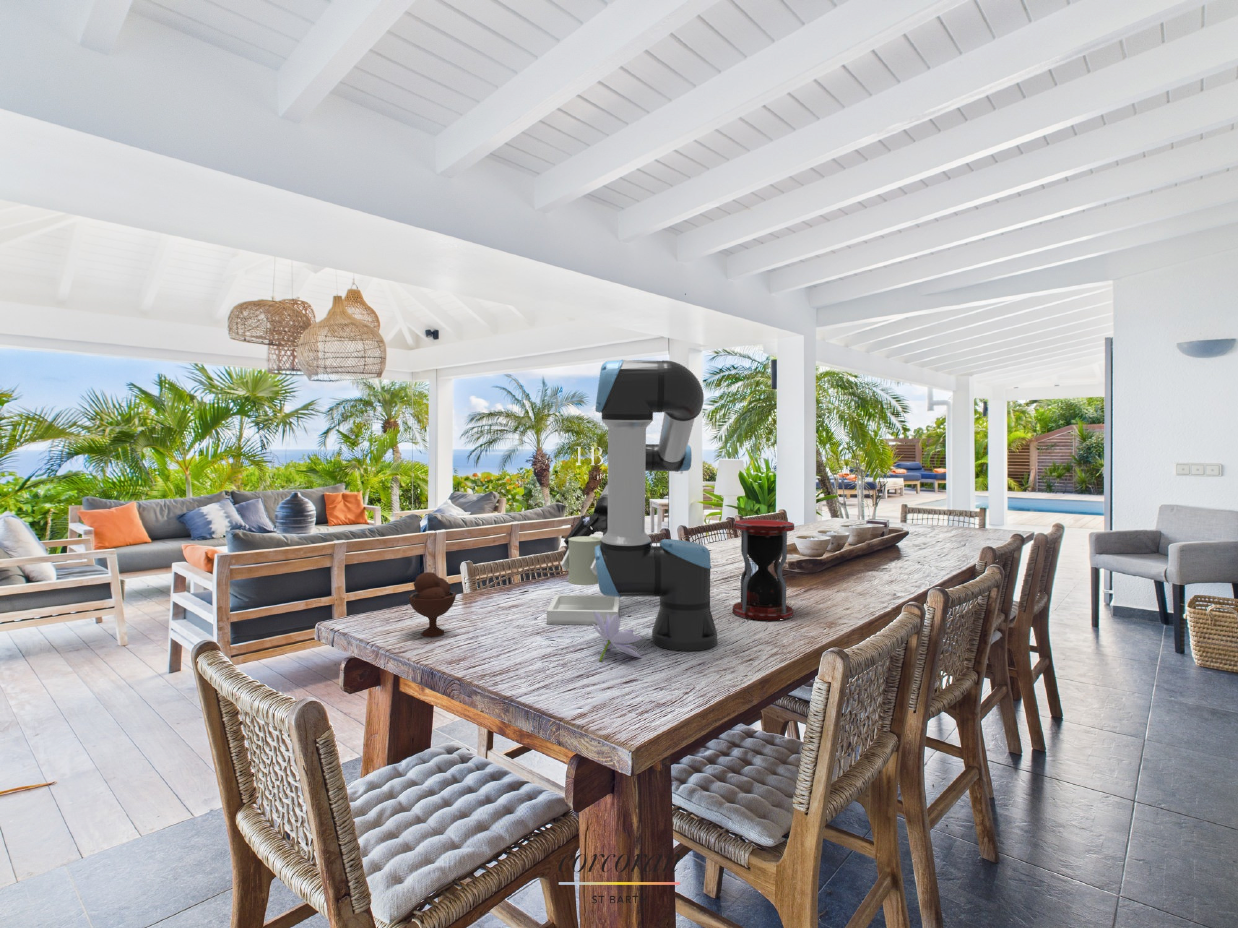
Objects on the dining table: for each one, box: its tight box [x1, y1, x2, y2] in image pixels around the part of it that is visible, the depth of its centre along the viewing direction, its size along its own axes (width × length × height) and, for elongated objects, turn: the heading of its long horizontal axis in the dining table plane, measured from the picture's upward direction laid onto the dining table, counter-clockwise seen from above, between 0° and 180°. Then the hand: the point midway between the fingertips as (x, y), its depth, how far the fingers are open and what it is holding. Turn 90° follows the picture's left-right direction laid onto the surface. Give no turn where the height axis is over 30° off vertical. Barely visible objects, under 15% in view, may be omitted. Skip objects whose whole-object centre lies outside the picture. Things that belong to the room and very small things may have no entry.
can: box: [567, 535, 602, 586], centre depth 178 cm, size 9×9×12 cm
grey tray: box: [546, 594, 621, 626], centre depth 178 cm, size 18×18×4 cm
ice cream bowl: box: [408, 571, 457, 638], centre depth 160 cm, size 11×11×15 cm
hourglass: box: [732, 518, 795, 622], centre depth 181 cm, size 16×16×25 cm
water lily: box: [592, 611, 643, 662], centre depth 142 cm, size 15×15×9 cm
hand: (578, 569), depth 175 cm, fingers closed on can, 9 cm apart
